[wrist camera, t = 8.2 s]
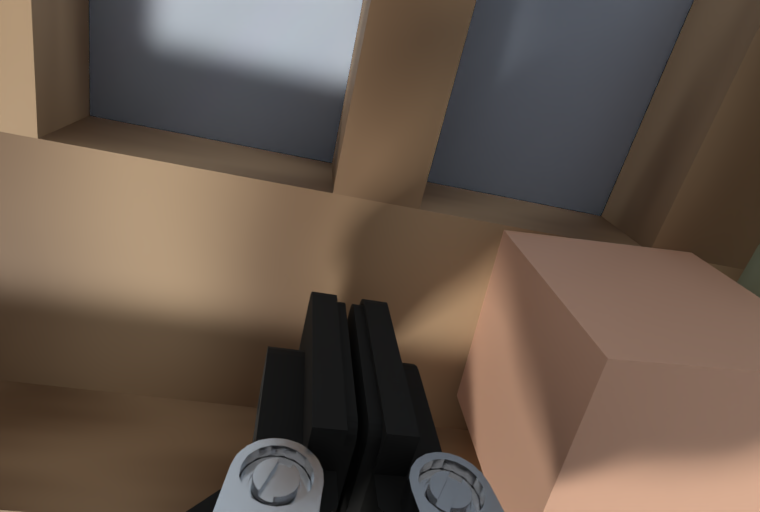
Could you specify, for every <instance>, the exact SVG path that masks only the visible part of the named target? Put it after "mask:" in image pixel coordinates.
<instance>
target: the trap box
mask: <svg viewBox="0 0 760 512" xmlns="http://www.w3.org/2000/svg"><path fill="white" fill-rule="evenodd" d="M475 3H476V0H363V3H362V8H361V13H360V19H359V24H358V29H357V34H356V40H355V45H354V50H353V55H352V61H351V66H350V71H349V76H348V81H347V87H346V92H345V97H344V102H343V108H342V113H341V118H340V123H339V129H338V134H337V139H336V144H335V149H334V155H333V160H332V163H328V162H323V161H318V160H313V159H308V158H303V157H298V156H293V155H287V154H282V153H277V152H272V151H267V150H262V149H257V148H252V147H247V146H242V145H236V144H231V143H226V142H221V141H216V140H211V139H206V138H201V137H196V136H191V135H185V134H180V133H175V132H170V131H165V130H160V129H155V128H150V127H145V126H140V125H134V124H129V123H124V122H119V121H114V120H109V119H104V118H99V117H94V116H90V107H89V0H0V512H186V511H188V510H189V509H191V508H192V507H194V506H195V505H197V504H198V503H200V502H201V501H203V500H204V499H206V498H207V497H209V496H210V495H212V494H214V493H215V492H217V491H218V490H220V489H221V488H222V486H223V483H224V481H225V478H226V475H227V473H228V470H229V467H230V465H231V463H232V461H233V460H234V458H235V456H236V455H237V454H238V453H239V452H240V451H241V450H242V449H243V448H245V447H246V446H247V445H249V444H252V442H253V435H254V428H255V420H256V413H257V406H258V400H259V394H260V387H261V381H262V375H263V370H264V364H265V358H266V353H267V348H268V346H270V347H278V348H287V349H295V350H299V347H300V342H301V337H302V332H303V328H304V323H305V318H306V313H307V308H308V304H309V299H310V295H311V292H312V291H313V292H320V293H326V294H333V295H337V302H343V303H345V304H346V313H347V319H348V315H349V311H350V307H351V305H352V304H357V305H359V304H360V302H361V300H362V299H367V300H374V301H381V302H386V303H387V304H388V307H389V312H390V316H391V320H392V324H393V328H394V332H395V336H396V340H397V344H398V348H399V352H400V356H401V360H402V363H410V364H415V365H416V366H417V368H418V370H419V373H420V376H421V380H422V383H423V387H424V390H425V394H426V397H427V401H428V404H429V408H430V411H431V415H432V418H433V422H434V425H435V429H436V432H437V436H438V439H439V443H440V446H441V450H442V452H443V453H450V454H453V455H456V456H459V457H461V458H463V459H465V460H466V461H468V462H470V463H471V464H473V465H474V466H475V467H476V468H477V469H478V470H479V471H480V472H482V469H481V466H480V463H479V460H478V457H477V454H476V451H475V448H474V445H473V442H472V439H471V436H470V433H469V430H468V427H467V425H466V422H465V419H464V416H463V413H462V410H461V407H460V404H459V401H458V398H457V393H458V389H459V386H460V382H461V379H462V375H463V372H464V368H465V365H466V361H467V357H468V354H469V350H470V347H471V343H472V340H473V336H474V333H475V329H476V326H477V322H478V319H479V315H480V312H481V308H482V305H483V301H484V298H485V294H486V291H487V287H488V284H489V280H490V277H491V273H492V270H493V266H494V263H495V259H496V256H497V252H498V248H499V245H500V241H501V238H502V234H503V231H504V230H509V231H517V232H525V233H533V234H542V235H550V236H558V237H567V238H575V239H583V240H591V241H600V242H608V243H616V244H625V245H633V246H641V247H649V248H658V249H666V250H674V251H683V252H691V253H693V254H694V255H696V256H697V257H699V258H700V259H702V260H703V261H705V262H707V263H708V264H710V265H711V266H713V267H714V268H716V269H717V270H719V271H720V272H722V273H723V274H725V275H726V276H728V277H729V278H731V279H732V280H734V281H735V282H737V283H738V284H740V285H741V286H743V287H744V288H746V289H747V290H749V291H750V292H752V293H753V294H755V295H756V296H758V297H759V298H760V0H694V1H693V4H692V6H691V8H690V11H689V13H688V15H687V18H686V20H685V22H684V25H683V27H682V29H681V32H680V34H679V36H678V39H677V41H676V43H675V46H674V48H673V50H672V53H671V55H670V57H669V59H668V62H667V64H666V66H665V69H664V71H663V73H662V76H661V78H660V80H659V83H658V85H657V87H656V90H655V92H654V94H653V97H652V99H651V101H650V104H649V106H648V108H647V111H646V113H645V115H644V118H643V120H642V122H641V125H640V127H639V129H638V132H637V134H636V136H635V139H634V141H633V143H632V146H631V148H630V150H629V153H628V155H627V157H626V160H625V162H624V164H623V167H622V169H621V171H620V174H619V176H618V178H617V180H616V183H615V185H614V187H613V190H612V192H611V194H610V197H609V199H608V201H607V204H606V206H605V208H604V211H603V213H602V215H601V216H598V215H593V214H588V213H583V212H578V211H573V210H568V209H563V208H558V207H552V206H547V205H542V204H537V203H532V202H527V201H522V200H517V199H512V198H507V197H502V196H496V195H491V194H486V193H481V192H476V191H471V190H466V189H461V188H456V187H451V186H445V185H440V184H435V183H430V182H427V179H428V176H429V172H430V168H431V165H432V161H433V157H434V154H435V150H436V146H437V143H438V139H439V135H440V132H441V128H442V124H443V121H444V117H445V113H446V110H447V106H448V102H449V99H450V95H451V91H452V88H453V84H454V80H455V77H456V73H457V69H458V66H459V62H460V58H461V55H462V51H463V47H464V44H465V40H466V36H467V33H468V29H469V25H470V22H471V18H472V14H473V11H474V7H475ZM482 474H483V472H482Z"/></svg>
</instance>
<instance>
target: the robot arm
mask: <svg viewBox="0 0 760 512" xmlns="http://www.w3.org/2000/svg"><path fill="white" fill-rule="evenodd" d="M186 512H504V510H503V508H502V506H501V504H500V502H499V501H498V499H497V497H496V495H495V493H494V491H493V489H492V487H491V485H490V484H489V482H488V481H487V479H486V478H485V476H484V475H483V474H482V472H480V471H479V470H478V469H477V468H476V467H475V466H474V465H473V464H471V463H470V462H468V461H466V460H465V459H463V458H461V457H459V456H456V455H453V454H450V453H443V452H442V450H441V446H440V443H439V439H438V436H437V432H436V429H435V425H434V422H433V418H432V415H431V411H430V408H429V404H428V401H427V397H426V394H425V390H424V387H423V383H422V380H421V376H420V373H419V370H418V368H417V366H416V365H415V364H410V363H402V360H401V356H400V352H399V348H398V344H397V340H396V336H395V332H394V328H393V324H392V320H391V316H390V312H389V307H388V304H387V303H386V302H381V301H374V300H367V299H362V300H361V302H360V304H359V305H357V304H352V305H351V307H350V311H349V315H348V319H347V313H346V304H345V303H343V302H337V295H333V294H326V293H320V292H313V291H312V292H311V295H310V299H309V304H308V308H307V313H306V318H305V323H304V328H303V332H302V337H301V342H300V347H299V350H295V349H287V348H278V347H270V346H268V348H267V353H266V358H265V364H264V370H263V375H262V381H261V387H260V394H259V400H258V406H257V413H256V420H255V428H254V435H253V442H252V444H249V445H247V446H246V447H245V448H243V449H242V450H241V451H240V452H239V453H238V454H237V455H236V456H235V458H234V460H233V461H232V463H231V465H230V467H229V470H228V473H227V475H226V478H225V481H224V483H223V486H222V488H221V489H220V490H218V491H217V492H215V493H214V494H212V495H210V496H209V497H207V498H206V499H204V500H203V501H201V502H200V503H198V504H197V505H195V506H194V507H192V508H191V509H189V510H188V511H186Z"/></svg>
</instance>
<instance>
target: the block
mask: <svg viewBox="0 0 760 512" xmlns="http://www.w3.org/2000/svg"><path fill="white" fill-rule="evenodd" d="M457 398H458V401H459V404H460V407H461V410H462V413H463V416H464V419H465V422H466V425H467V427H468V430H469V433H470V436H471V439H472V442H473V445H474V448H475V451H476V454H477V457H478V460H479V463H480V466H481V469H482V472H483V475H484V476H485V478H486V479H487V481H488V482H489V484H490V485H491V487H492V489H493V491H494V493H495V495H496V497H497V499H498V501H499V502H500V504H501V506H502V508H503V510H504V512H760V298H759V297H758V296H756V295H755V294H753V293H752V292H750V291H749V290H747V289H746V288H744V287H743V286H741V285H740V284H738V283H737V282H735V281H734V280H732V279H731V278H729V277H728V276H726V275H725V274H723V273H722V272H720V271H719V270H717V269H716V268H714V267H713V266H711V265H710V264H708V263H707V262H705V261H703V260H702V259H700V258H699V257H697V256H696V255H694V254H693V253H691V252H683V251H674V250H666V249H658V248H649V247H641V246H633V245H625V244H616V243H608V242H600V241H591V240H583V239H575V238H567V237H558V236H550V235H542V234H533V233H525V232H517V231H509V230H504V231H503V234H502V238H501V241H500V245H499V248H498V252H497V256H496V259H495V263H494V266H493V270H492V273H491V277H490V280H489V284H488V287H487V291H486V294H485V298H484V301H483V305H482V308H481V312H480V315H479V319H478V322H477V326H476V329H475V333H474V336H473V340H472V343H471V347H470V350H469V354H468V357H467V361H466V365H465V368H464V372H463V375H462V379H461V382H460V386H459V389H458V393H457Z"/></svg>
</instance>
